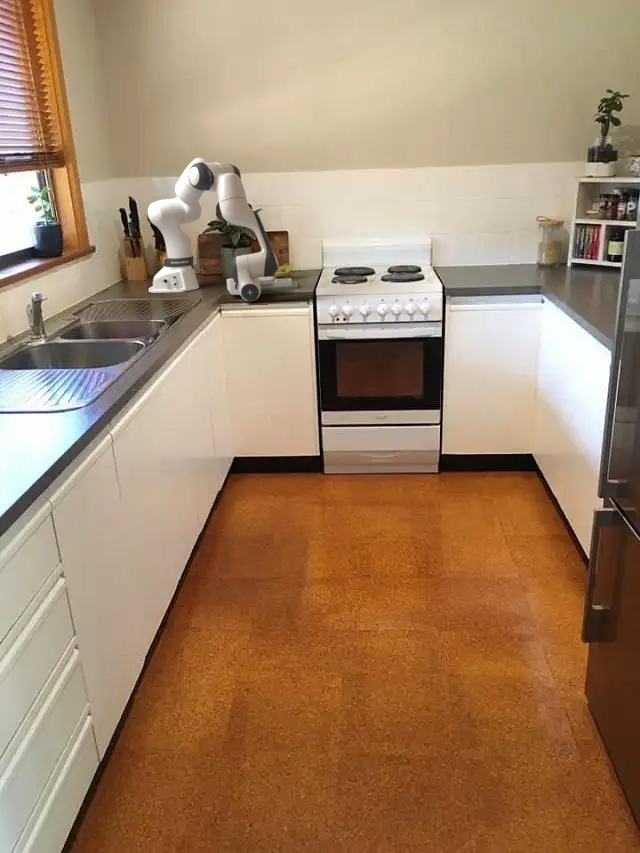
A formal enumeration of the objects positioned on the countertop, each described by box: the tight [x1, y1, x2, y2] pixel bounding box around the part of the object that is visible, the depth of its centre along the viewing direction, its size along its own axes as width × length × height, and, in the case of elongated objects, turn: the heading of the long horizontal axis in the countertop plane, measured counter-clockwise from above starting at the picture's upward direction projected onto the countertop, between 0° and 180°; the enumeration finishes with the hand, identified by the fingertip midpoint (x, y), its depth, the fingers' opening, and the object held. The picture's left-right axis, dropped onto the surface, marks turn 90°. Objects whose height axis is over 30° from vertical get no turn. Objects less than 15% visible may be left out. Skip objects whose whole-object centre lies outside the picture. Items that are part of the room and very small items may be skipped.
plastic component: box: [268, 262, 294, 281], centre depth 345 cm, size 20×7×10 cm
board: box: [261, 277, 299, 292], centre depth 323 cm, size 16×12×3 cm
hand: (250, 279), depth 315 cm, fingers closed on plug, 4 cm apart
